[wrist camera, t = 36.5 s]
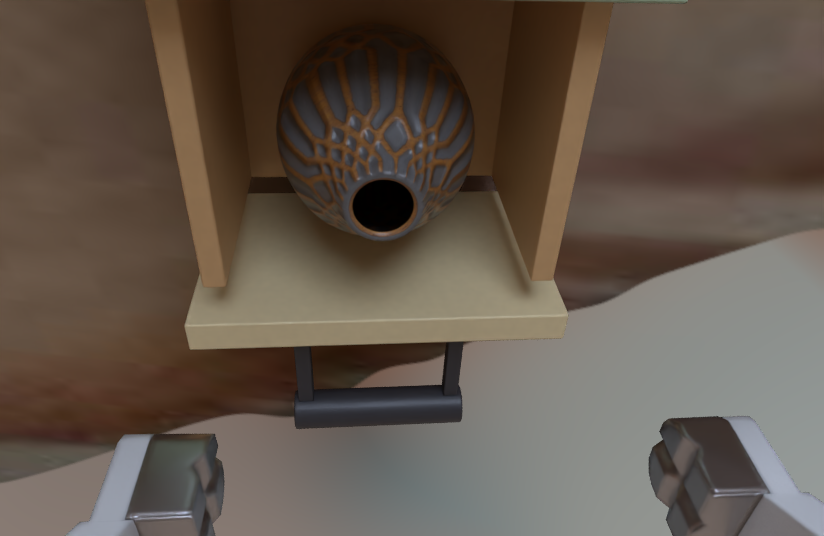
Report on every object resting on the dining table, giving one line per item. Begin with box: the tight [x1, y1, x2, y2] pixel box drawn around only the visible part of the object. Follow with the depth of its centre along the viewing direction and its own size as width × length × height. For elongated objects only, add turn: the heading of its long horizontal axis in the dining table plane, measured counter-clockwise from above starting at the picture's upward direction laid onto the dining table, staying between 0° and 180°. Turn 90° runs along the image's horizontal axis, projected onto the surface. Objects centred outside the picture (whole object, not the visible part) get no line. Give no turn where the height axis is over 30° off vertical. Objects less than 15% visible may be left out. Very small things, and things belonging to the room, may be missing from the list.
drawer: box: [145, 0, 614, 429], centre depth 24 cm, size 19×14×9 cm
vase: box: [276, 24, 475, 241], centre depth 22 cm, size 7×7×9 cm
